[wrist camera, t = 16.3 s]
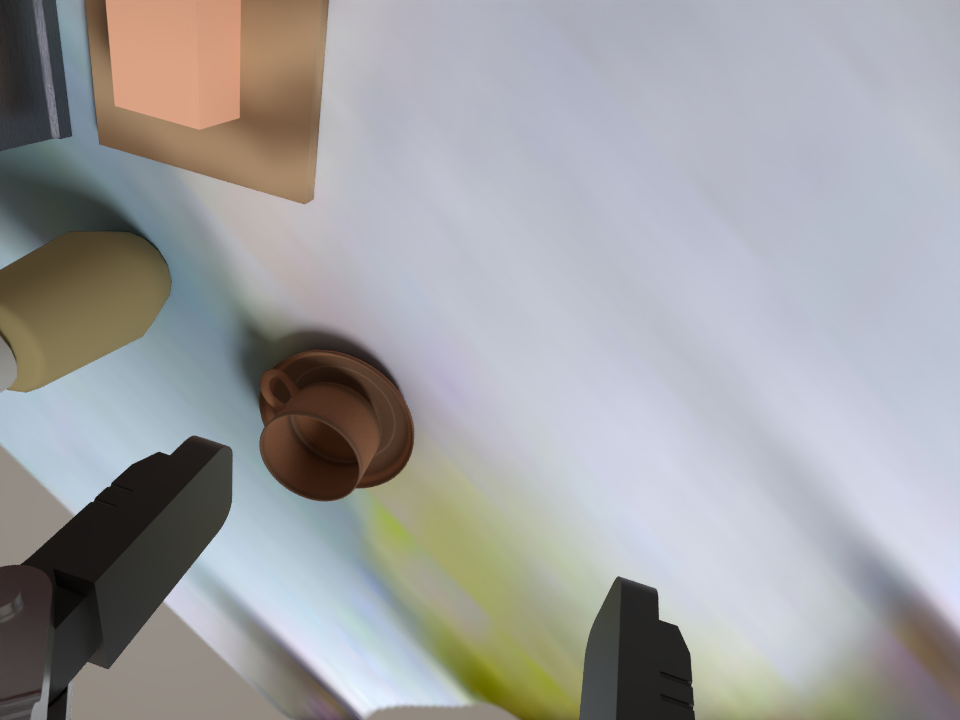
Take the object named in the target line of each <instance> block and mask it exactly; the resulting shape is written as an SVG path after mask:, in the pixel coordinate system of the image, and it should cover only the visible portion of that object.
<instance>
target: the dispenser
mask: <svg viewBox="0 0 960 720" xmlns="http://www.w3.org/2000/svg"><path fill="white" fill-rule="evenodd" d="M71 136H72V132H71V124H70V116H69V107H68V99H67V91H66V83H65V74H64V66H63V58H62V50H61V41H60V33H59V25H58V17H57V8H56V0H0V151H2V150H6V149H11V148H15V147H19V146H23V145H28V144H32V143H36V142H40V141H45V140H49V139H53V138H58V139H62V138H67V137H71Z"/></svg>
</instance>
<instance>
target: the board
mask: <svg viewBox="0 0 960 720" xmlns="http://www.w3.org/2000/svg"><path fill="white" fill-rule="evenodd" d="M328 4H329V0H241V32H240V118H238V119H235V120H231V121H228V122H224V123H221V124H218V125H214V126H211V127H207V128H204V129H201V130H198V129H195V128H191V127H188V126H184V125H181V124H177V123H174V122H170V121H166V120H163V119H159V118H156V117H152V116H149V115H145V114H142V113H138V112H135V111H131V110H128V109H124V108H120V107H117V106H115V102H114V91H113V79H112V68H111V56H110V45H109V34H108V22H107V11H106V0H85V6H86V16H87V26H88V36H89V46H90V56H91V66H92V76H93V86H94V96H95V106H96V116H97V126H98V136H99V144H100V145H104V146H107V147H111V148H114V149H117V150H121V151H124V152H128V153H131V154H134V155H138V156H141V157H145V158H148V159H152V160H155V161H158V162H162V163H165V164H169V165H172V166H175V167H179V168H182V169H186V170H189V171H193V172H196V173H199V174H203V175H206V176H210V177H213V178H216V179H220V180H223V181H227V182H230V183H233V184H237V185H240V186H244V187H247V188H251V189H254V190H257V191H261V192H264V193H268V194H271V195H274V196H278V197H281V198H285V199H288V200H292V201H295V202H298V203H302V204H306V203H308V202H310V201H311V200H313V198H314V185H315V172H316V159H317V146H318V133H319V120H320V108H321V95H322V82H323V69H324V56H325V43H326V30H327V17H328Z"/></svg>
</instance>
